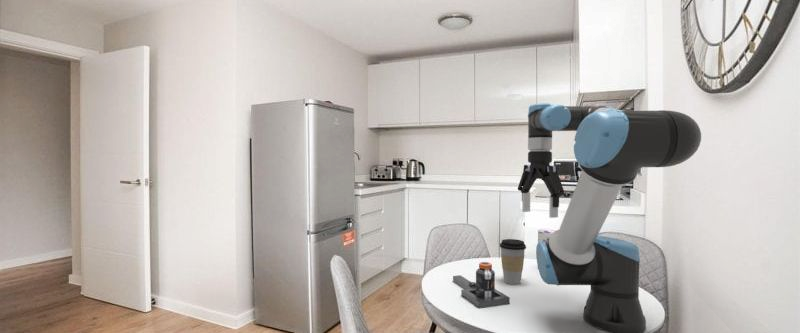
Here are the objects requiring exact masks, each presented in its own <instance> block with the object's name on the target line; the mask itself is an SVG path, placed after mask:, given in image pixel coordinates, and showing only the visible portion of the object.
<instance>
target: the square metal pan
mask: <svg viewBox="0 0 800 333" xmlns="http://www.w3.org/2000/svg"><path fill="white" fill-rule="evenodd" d="M452 282H453V283H454V284H456V285H458V287H461V288H463V289H461V297H462V298H464V299H465V300H466V301H468V302H469V303H471V305H473V306H474V307H476V308H477V309H483V308H491V307H498V306H504V305H510V304H511V303H510V302H511V301H510V300H511V298H510V296H508V295H506V294H504V293H503V292H501V291H499V290H497V289H496V288H495V297H492V298H485V299H480V298H479V297H477V296H476V281H471V280H469V279H467V278H466V277H464V276H462V275H458V274H457V275H453V276H452Z"/></svg>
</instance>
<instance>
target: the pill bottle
mask: <svg viewBox="0 0 800 333" xmlns="http://www.w3.org/2000/svg"><path fill="white" fill-rule="evenodd" d="M492 265H493V264H492V263H491V262H487V261H481V262H479V263H478V268H476V270H475V271H476V272H475V283H476V296H477V297H479V298H480V299H485V298H492V297H495V289H496V288H495V287H496V286H495V284H496V283H495V282H496V281H495V280H496V279H495V278H496V277H495V276H496V272H495V271H494V270H493V266H492Z"/></svg>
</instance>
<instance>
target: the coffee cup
mask: <svg viewBox="0 0 800 333" xmlns="http://www.w3.org/2000/svg"><path fill="white" fill-rule="evenodd" d="M499 247H500V258H501V268H502V275H503V281H504V283H505V284H508V285H513V284H514V285H515V286H516V285H520V284H521V282H522V276H523V275H522V274H523V269H524V263H525V262H524V260H525V250H526V249H527V245H526V244H525V242H524V241H523V240H522V239H521V240H520V239H514V238H507V239H502V240H501V242H500V243H499ZM514 285H513V286H514Z"/></svg>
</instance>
